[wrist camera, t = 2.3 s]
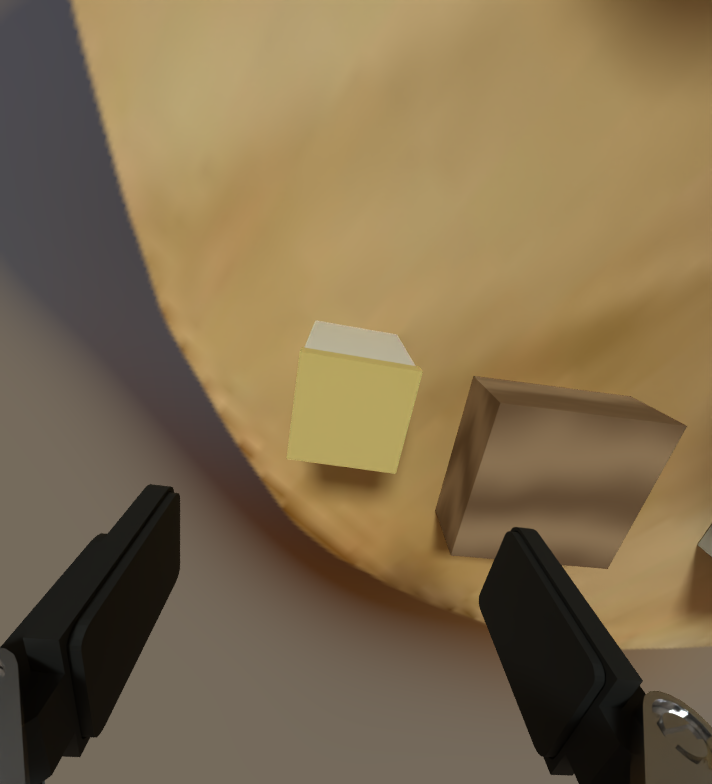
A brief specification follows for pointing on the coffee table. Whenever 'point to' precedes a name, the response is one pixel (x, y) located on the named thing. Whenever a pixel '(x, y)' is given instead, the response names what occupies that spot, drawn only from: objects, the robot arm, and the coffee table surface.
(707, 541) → the grey crate
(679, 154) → the coffee table surface
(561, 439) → the walnut box
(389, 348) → the tea tin
